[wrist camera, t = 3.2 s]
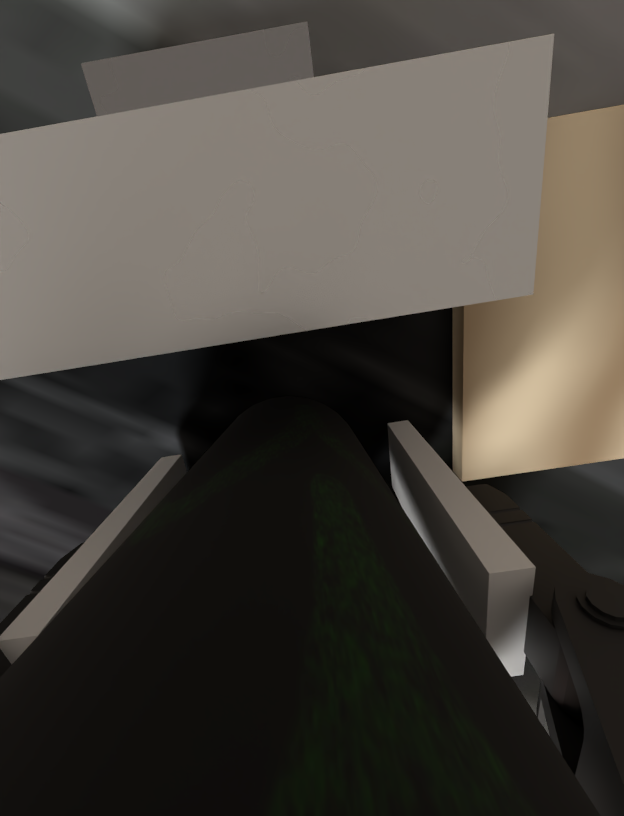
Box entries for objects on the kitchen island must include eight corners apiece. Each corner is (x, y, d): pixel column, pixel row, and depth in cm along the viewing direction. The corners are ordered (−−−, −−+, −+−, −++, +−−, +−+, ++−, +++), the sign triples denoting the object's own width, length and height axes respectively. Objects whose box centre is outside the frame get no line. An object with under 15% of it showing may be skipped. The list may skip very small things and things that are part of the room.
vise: (253, 718, 18) (229, 914, 12) (43, 131, 9) (-448, -189, 3) (426, 695, 17) (485, 885, 12) (397, 66, 8) (590, -416, 3)
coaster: (452, 470, 13) (462, 481, 12) (452, 145, 9) (465, 132, 8) (726, 430, 12) (753, 439, 12) (839, 79, 9) (890, 58, 8)
